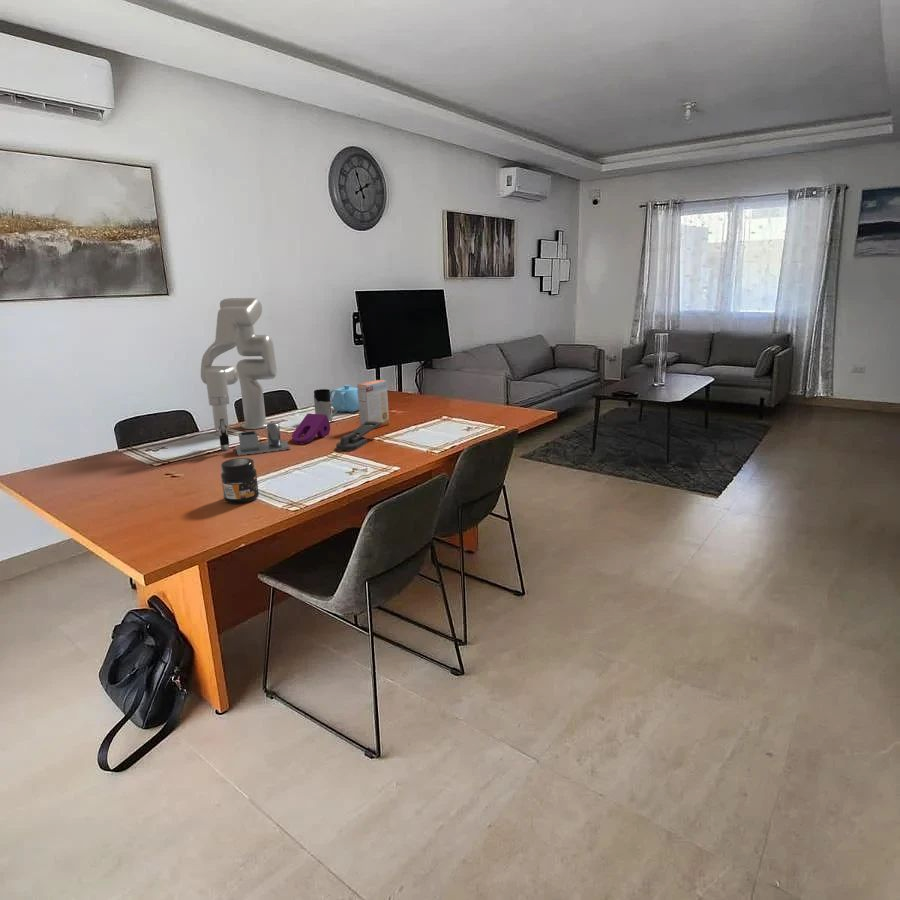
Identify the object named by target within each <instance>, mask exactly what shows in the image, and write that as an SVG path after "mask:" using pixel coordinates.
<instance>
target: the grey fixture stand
mask: <svg viewBox="0 0 900 900" xmlns="http://www.w3.org/2000/svg"><path fill="white" fill-rule="evenodd" d="M266 431H267V441H266V442H259V437H258V433H257V431H256V430H251V431H250V430H249V431H241V432H238V438H239V440H238V441H239V444H238V445H234V448H235V451H237V452H236V453H237V456H238V457H241V456H240V455H243V456H248V455H247V454H251V455H255V454H254V453H259V454H264V453H263V452H267V453H272V452H271V451H276V452H280V451H279V450H284V451H287V450H286V449H290V450H291V446H290V445H289V443H288V442H287V440H286V439H283V440H281V429H280V423H279V422H269V423H268V424H267V427H266Z"/></svg>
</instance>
